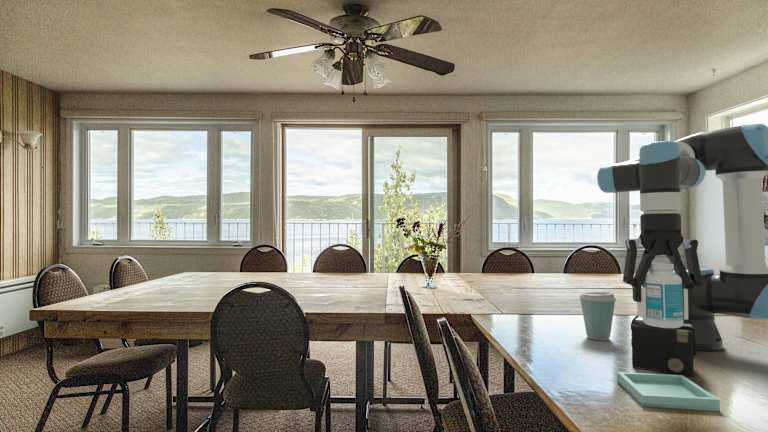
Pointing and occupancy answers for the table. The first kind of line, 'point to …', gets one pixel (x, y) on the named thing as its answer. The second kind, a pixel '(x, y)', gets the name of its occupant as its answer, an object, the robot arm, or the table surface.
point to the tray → (667, 391)
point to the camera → (663, 348)
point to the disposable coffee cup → (598, 314)
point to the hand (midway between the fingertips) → (662, 317)
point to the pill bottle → (663, 296)
